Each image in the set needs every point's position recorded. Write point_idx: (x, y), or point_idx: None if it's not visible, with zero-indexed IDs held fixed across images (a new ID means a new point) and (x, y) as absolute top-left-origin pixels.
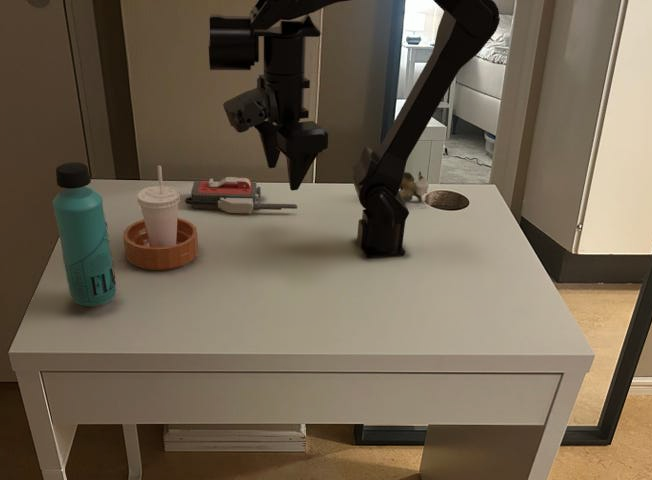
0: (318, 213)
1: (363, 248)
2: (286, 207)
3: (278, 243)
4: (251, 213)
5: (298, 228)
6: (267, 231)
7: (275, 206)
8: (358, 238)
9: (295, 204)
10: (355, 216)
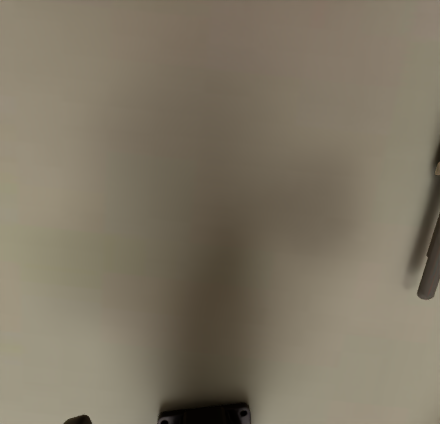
0: (401, 337)
1: (183, 418)
2: (426, 271)
3: (260, 226)
4: (435, 173)
5: (333, 283)
6: (331, 205)
7: (437, 243)
8: (212, 421)
9: (431, 297)
10: (366, 411)
